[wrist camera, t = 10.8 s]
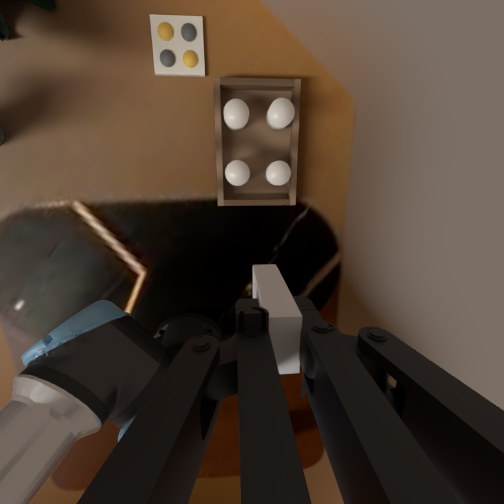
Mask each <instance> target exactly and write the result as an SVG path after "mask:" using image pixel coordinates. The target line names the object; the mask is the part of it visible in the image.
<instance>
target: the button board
mask: <svg viewBox="0 0 504 504" xmlns="http://www.w3.org/2000/svg"><path fill="white" fill-rule="evenodd" d="M213 82H214V109H215V136H216V162H217V189H218V206H238V205H296V182H297V159H298V136H299V113H300V90H301V79H271V78H232V77H213ZM278 98H286V99H288V100H290V101H291V102H292V104H293V106H294V110H295V114H294V118H293V120H292V121H291V122H290V123H289V124H288V125H287V126H286V127H285V128H284V129H283V130H280V131H275V130H272V129H271V128H270V127H269V126H268V125H267V122H266V114H267V111H268V109H269V107H270V106H271V104H272V102H273V101H274V100H276V99H278ZM232 99H240V100H242V101H244V102H245V103H246V105H247V106H248V109H249V118H248V122H247V125H246V126H245V128H244V129H243V130H241V131H232V130H230V129H229V128H228V127H227V126H226V124H225V120H224V107H225V105H226V104H227V102H228V101H230V100H232ZM234 160H241V161H243V162H245V163H246V164H247V165H248V167H249V170H250V176H249V179H248V181H247V182H246V183H245V184H243V185H240V186H235V185H232V184H231V183H230V182H229V181H228V180H227V178H226V175H225V170H226V167H227V165H228V164H229V163H230V162H232V161H234ZM275 161H284V162H286V163H287V164H288V165H289V167H290V169H291V176H290V179H289V180H288V182H287V183H285V184H283V185H272V184H270V183H268V182H267V180H266V178H265V169H266V167H267V166H268V165H269V164H270V163H272V162H275Z"/></svg>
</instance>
